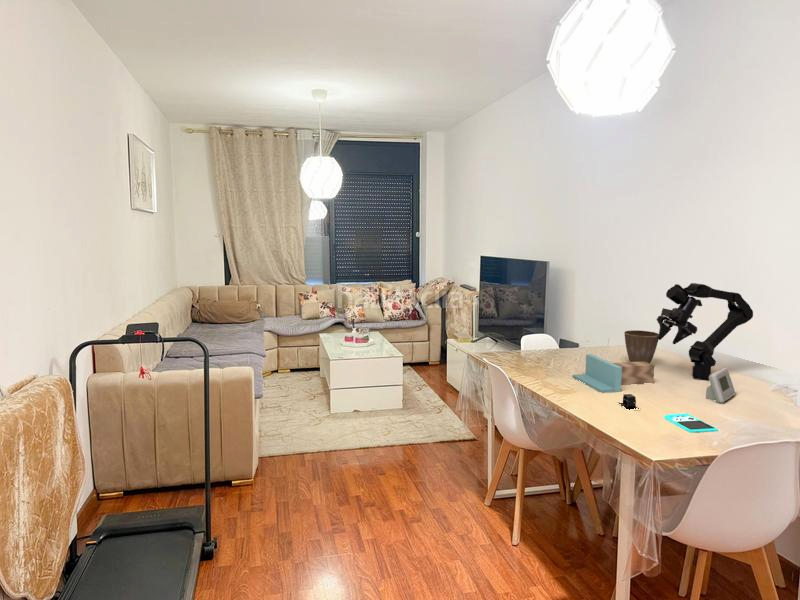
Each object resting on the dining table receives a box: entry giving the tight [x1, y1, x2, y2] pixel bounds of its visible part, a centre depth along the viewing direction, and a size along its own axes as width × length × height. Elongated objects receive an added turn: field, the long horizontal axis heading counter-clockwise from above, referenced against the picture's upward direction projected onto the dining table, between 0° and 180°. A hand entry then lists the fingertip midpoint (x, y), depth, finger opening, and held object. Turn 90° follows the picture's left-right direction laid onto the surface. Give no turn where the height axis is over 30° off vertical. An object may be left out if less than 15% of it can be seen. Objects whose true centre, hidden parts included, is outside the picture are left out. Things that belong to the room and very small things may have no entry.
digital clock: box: [705, 367, 736, 404], centre depth 217 cm, size 16×9×11 cm, turn 123°
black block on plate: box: [618, 393, 640, 410], centre depth 208 cm, size 12×7×5 cm, turn 4°
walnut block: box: [612, 361, 655, 386], centre depth 240 cm, size 16×7×8 cm, turn 100°
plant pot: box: [624, 329, 659, 364], centre depth 266 cm, size 15×15×16 cm
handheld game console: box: [663, 413, 719, 434], centre depth 190 cm, size 10×16×1 cm, turn 8°
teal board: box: [571, 353, 622, 394], centre depth 237 cm, size 8×24×10 cm, turn 10°
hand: (666, 341), depth 240 cm, fingers open, 9 cm apart
